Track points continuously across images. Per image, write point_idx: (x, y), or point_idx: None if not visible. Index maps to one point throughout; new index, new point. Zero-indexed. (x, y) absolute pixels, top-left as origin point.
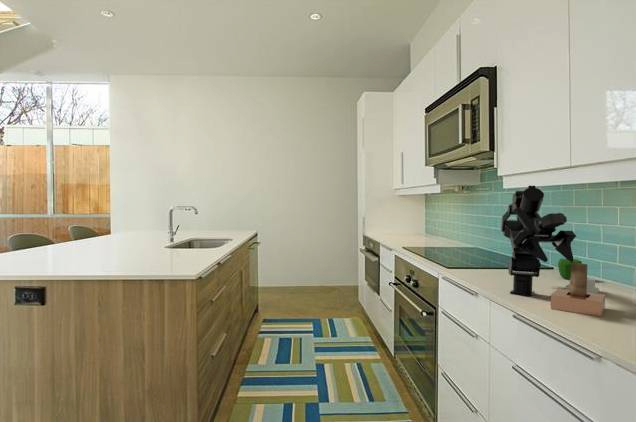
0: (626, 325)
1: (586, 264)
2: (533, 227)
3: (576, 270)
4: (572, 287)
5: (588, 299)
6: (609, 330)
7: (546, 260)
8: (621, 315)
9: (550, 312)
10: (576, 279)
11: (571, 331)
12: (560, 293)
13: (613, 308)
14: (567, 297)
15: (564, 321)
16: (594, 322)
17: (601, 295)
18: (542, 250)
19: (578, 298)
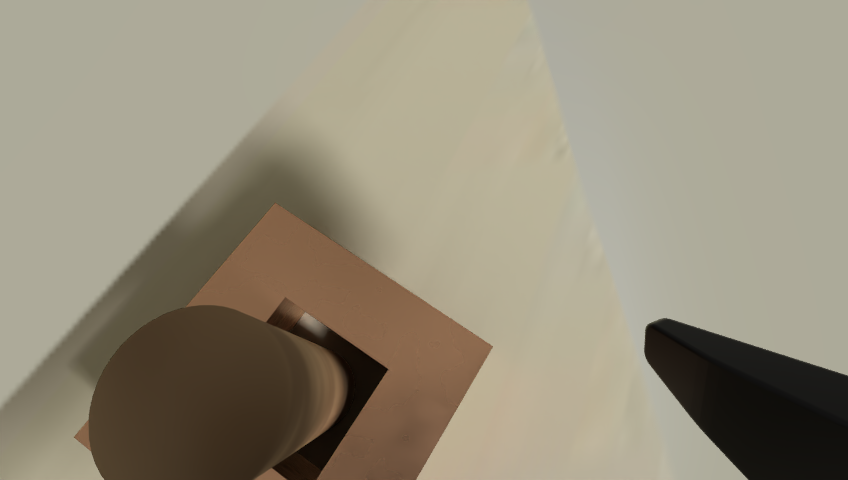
0: (275, 120)
1: (106, 381)
2: None
3: (289, 337)
4: (335, 376)
5: (312, 256)
6: (389, 58)
7: (663, 322)
8: (166, 273)
9: (507, 276)
10: (307, 346)
11: (531, 36)
12: (405, 412)
13: None
14: (415, 295)
15: (504, 142)
16: (384, 143)
17: None
18: (840, 409)
19: (361, 274)
